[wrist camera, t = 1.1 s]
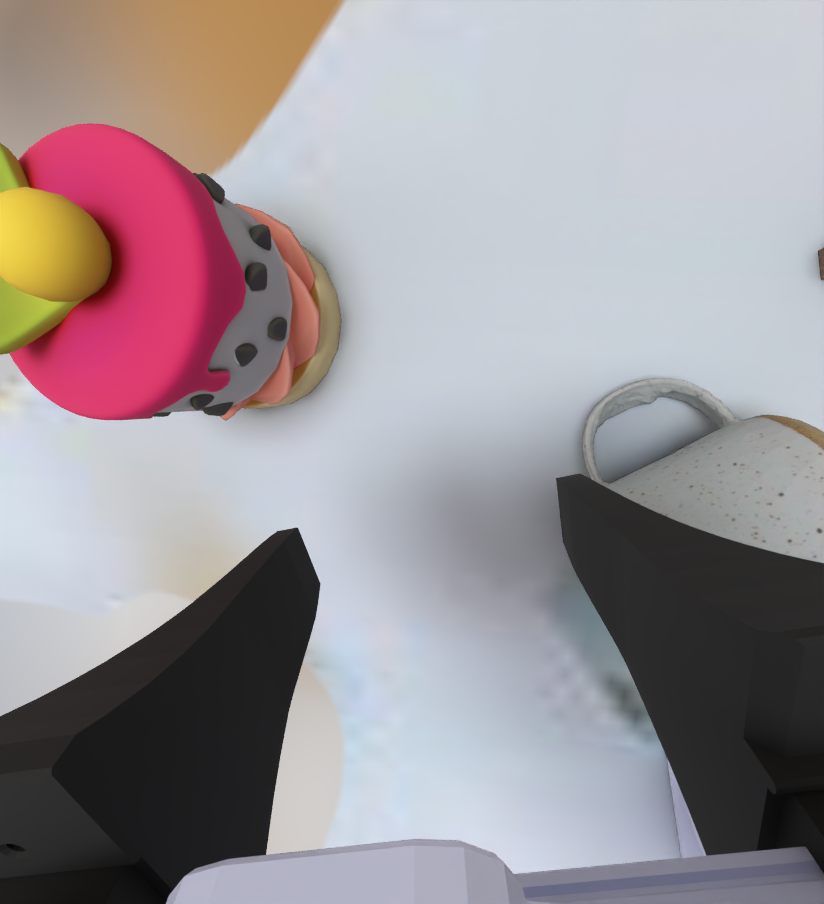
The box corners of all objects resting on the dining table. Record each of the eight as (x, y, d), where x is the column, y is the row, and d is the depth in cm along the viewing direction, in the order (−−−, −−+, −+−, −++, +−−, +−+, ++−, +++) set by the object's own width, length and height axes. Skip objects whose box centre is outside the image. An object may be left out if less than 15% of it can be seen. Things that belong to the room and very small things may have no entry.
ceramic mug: (835, 535, 19) (1021, 619, 12) (658, 616, 21) (719, 727, 14) (690, 341, 20) (777, 304, 12) (535, 440, 22) (532, 459, 15)
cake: (314, 198, 24) (-28, -102, 9) (370, 382, 24) (125, 363, 10) (173, 273, 27) (-243, 134, 13) (224, 433, 27) (-120, 476, 13)
